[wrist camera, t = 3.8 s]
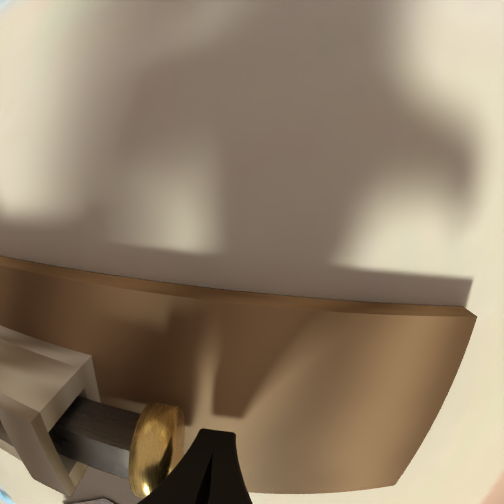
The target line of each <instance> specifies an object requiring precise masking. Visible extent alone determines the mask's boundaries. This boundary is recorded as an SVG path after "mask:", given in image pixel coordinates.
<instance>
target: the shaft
mask: <svg viewBox="0 0 504 504" xmlns="http://www.w3.org/2000/svg"><path fill="white" fill-rule="evenodd" d="M0 423H1V421H0ZM48 433H49V436H50V438H51V440H52V442H53V445H54V447H55V449H56V451H57V453H59V454H61V455H64V456H66V457H68V458H71V459H73V460H75V461H78V462H80V463H83V464H85V465H88V466H91V467H93V468H96V469H99V470H102V471H105V472H107V473H110V474H113V475H117V476H120V477H123V478H126V479H129V482H130V487H131V490H132V492H133V494H134V495H135V496H136V497H139V498H143V499H144V498H145V497H146V496H147V495H149V494H150V493H151V492H152V491H153V490H154V489H155V488H156V487H157V486H158V485H159V484H160V483H161V482H162V481H163V480H164V479H165V478H166V477H167V476H168V475H169V474H170V472H171V471H172V470H173V469H174V468H175V467H176V465H177V464H178V463H179V461H180V460H181V459H182V457H183V449H184V437H185V420H184V413H183V410H182V408H181V407H178V406H173V405H168V404H162V403H158V402H150V403H149V404H148V405H147V406H146V407H145V408H144V410H143V411H142V413H141V414H140V413H136V412H132V411H128V410H124V409H121V408H117V407H113V406H110V405H106V404H103V403H100V402H96V401H93V400H90V399H87V398H84V397H81V396H77V397H76V399H75V400H74V401H73V402H72V404H71V405H70V406H69V407H68V408H67V410H66V411H65V412H64V413H63V415H62V416H61V417H60V418H59V420H58V421H57V422H56V424H55V425H54V426H53V427H52V429H51V430H50V431H49V432H48Z"/></svg>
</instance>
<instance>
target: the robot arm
mask: <svg viewBox="0 0 504 504" xmlns="http://www.w3.org/2000/svg"><path fill="white" fill-rule="evenodd" d="M73 504H113V503H112V502H110V501H109V500H107V499H98V500H92V501H86V502H80V503H73ZM138 504H252V501H251V499H250V496H249V494H248V491H247V488H246V486H245V483H244V480H243V476H242V473H241V469H240V465H239V461H238V455H237V448H236V434H235V433H234V432H227V431H219V430H212V429H205V428H202V429H200V430H199V432H198V434H197V436H196V438H195V440H194V441H193V443H192V445H191V446H190V448H189V449H188V451H187V452H186V454H185V455H184V456H183V458H182V459H181V460H180V461H179V463H178V464H177V465H176V467H175V468H174V469H173V470H172V471H171V472H170V474H169V475H168V476H167V477H166V478H165V479H164V480H163V481H162V482H161V483H160V484H159V485H158V486H157V487H156V488H155V489H154V490H153V491H152V492H151V493H150V494H149V495H147V496H146V497H145V498H144V499H143V500H141V501H140V502H139V503H138Z"/></svg>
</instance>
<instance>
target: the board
mask: <svg viewBox="0 0 504 504" xmlns="http://www.w3.org/2000/svg"><path fill="white" fill-rule="evenodd" d="M476 319H477V316H476V315H474V314H473V313H471V312H470V311H469V310H467V309H466V308H464V307H463V306H435V305H412V304H392V303H375V302H359V301H344V300H331V299H318V298H306V297H294V296H283V295H272V294H262V293H252V292H242V291H232V290H223V289H214V288H205V287H197V286H189V285H180V284H172V283H165V282H157V281H149V280H142V279H135V278H128V277H121V276H114V275H107V274H100V273H94V272H87V271H81V270H75V269H69V268H63V267H57V266H51V265H45V264H39V263H34V262H28V261H23V260H17V259H12V258H7V257H1V256H0V421H1V423H0V448H2V449H3V450H5V451H6V452H8V453H10V454H11V455H13V456H15V457H16V458H18V459H20V460H21V461H22V462H23V463H24V465H25V466H26V468H27V470H28V471H29V473H30V474H31V476H32V478H33V479H35V480H37V481H39V482H41V483H42V484H44V485H46V486H48V487H50V488H52V489H54V490H56V491H58V492H60V493H63V494H65V495H67V496H69V497H71V495H72V493H73V492H74V490H75V488H76V486H77V485H78V483H79V481H80V479H81V478H82V476H83V474H84V472H85V471H86V469H87V467H88V465H85V464H83V463H80V462H78V461H75V460H73V459H71V458H68V457H66V456H64V455H61V454H59V453H57V451H56V449H55V447H54V445H53V442H52V440H51V438H50V436H49V433H48V432H49V431H50V430H51V429H52V427H53V426H54V425H55V424H56V422H57V421H58V420H59V418H60V417H61V416H62V415H63V413H64V412H65V411H66V410H67V408H68V407H69V406H70V405H71V404H72V402H73V401H74V400H75V399H76V397H77V396H81V397H84V398H87V399H90V400H93V401H96V402H100V403H103V404H106V405H110V406H113V407H117V408H121V409H124V410H128V411H132V412H136V413H140V414H141V413H142V411H143V410H144V408H145V407H146V406H147V405H148V404H149V403H150V402H158V403H162V404H168V405H173V406H178V407H181V408H182V410H183V413H184V420H185V437H184V449H183V456H184V455H185V454H186V452H187V451H188V449H189V448H190V446H191V445H192V443H193V441H194V440H195V438H196V436H197V434H198V432H199V430H200V429H202V428H205V429H212V430H219V431H227V432H234V433H235V434H236V448H237V455H238V461H239V465H240V469H241V473H242V476H243V480H244V483H245V486H246V488H247V491H248V492H254V493H273V494H316V493H335V492H347V491H357V490H366V489H373V488H380V487H387V486H393V485H395V484H396V483H397V481H398V480H399V478H400V477H401V475H402V474H403V472H404V471H405V469H406V468H407V466H408V465H409V463H410V462H411V460H412V459H413V457H414V455H415V454H416V452H417V450H418V449H419V447H420V445H421V444H422V442H423V440H424V438H425V437H426V435H427V433H428V431H429V430H430V428H431V426H432V424H433V422H434V420H435V418H436V416H437V414H438V413H439V411H440V409H441V407H442V404H443V402H444V400H445V398H446V396H447V394H448V392H449V390H450V387H451V385H452V383H453V381H454V378H455V376H456V374H457V371H458V369H459V366H460V364H461V361H462V359H463V356H464V354H465V351H466V348H467V345H468V343H469V340H470V337H471V334H472V331H473V328H474V325H475V322H476ZM182 458H183V457H182Z"/></svg>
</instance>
